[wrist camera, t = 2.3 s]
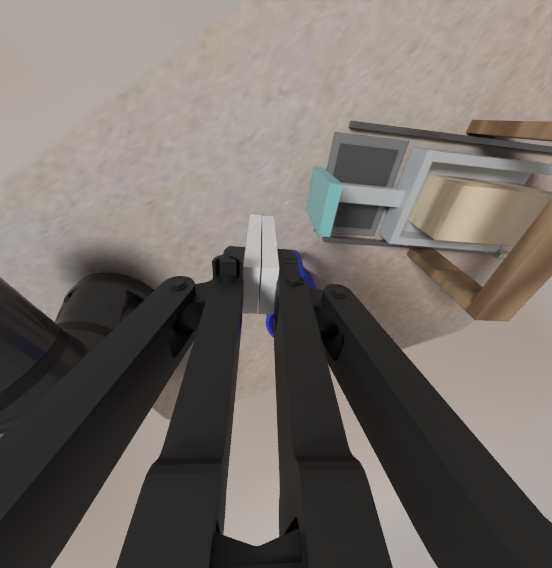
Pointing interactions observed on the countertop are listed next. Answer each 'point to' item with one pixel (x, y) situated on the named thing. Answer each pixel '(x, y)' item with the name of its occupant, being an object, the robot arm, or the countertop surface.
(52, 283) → the countertop surface
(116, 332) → the robot arm
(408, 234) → the sled
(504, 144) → the track
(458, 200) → the bar
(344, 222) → the pad
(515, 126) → the tunnel
